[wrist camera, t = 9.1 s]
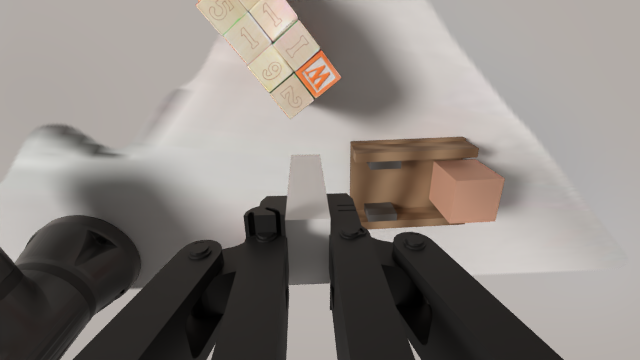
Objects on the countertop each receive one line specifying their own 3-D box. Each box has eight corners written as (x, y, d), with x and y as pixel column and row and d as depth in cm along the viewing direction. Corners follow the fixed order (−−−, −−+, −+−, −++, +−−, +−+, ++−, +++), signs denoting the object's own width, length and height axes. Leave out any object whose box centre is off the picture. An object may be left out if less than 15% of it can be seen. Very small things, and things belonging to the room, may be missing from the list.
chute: (349, 215, 48) (354, 231, 44) (350, 141, 43) (355, 151, 39) (450, 210, 48) (464, 225, 44) (462, 136, 44) (479, 146, 39)
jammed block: (428, 198, 46) (449, 223, 39) (433, 161, 43) (456, 180, 37) (468, 196, 46) (495, 221, 40) (475, 159, 44) (504, 178, 37)
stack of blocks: (166, -58, 33) (96, -112, 22) (207, -103, 32) (155, -184, 21) (293, 100, 41) (290, 121, 29) (331, 69, 39) (343, 78, 28)
